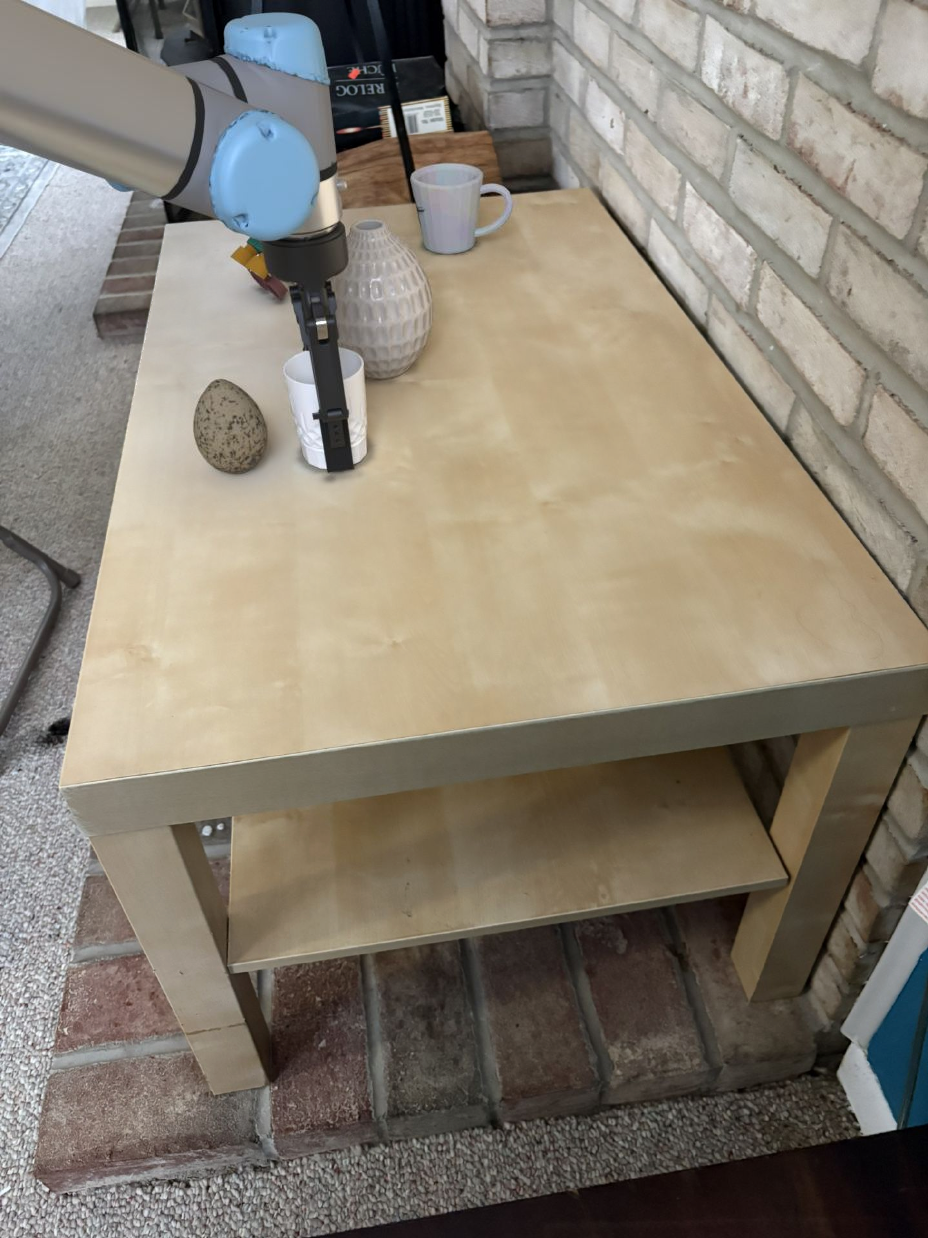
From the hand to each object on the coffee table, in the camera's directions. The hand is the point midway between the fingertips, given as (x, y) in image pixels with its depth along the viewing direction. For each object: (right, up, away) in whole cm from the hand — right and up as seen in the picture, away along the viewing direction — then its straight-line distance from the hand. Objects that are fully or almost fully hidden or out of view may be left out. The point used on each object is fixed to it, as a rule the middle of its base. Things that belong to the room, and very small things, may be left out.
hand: (334, 447), depth 96 cm
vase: (+4, +12, +14) cm, 19 cm away
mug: (+14, +38, +41) cm, 58 cm away
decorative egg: (-10, -3, -1) cm, 10 cm away
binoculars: (-13, +27, +31) cm, 43 cm away
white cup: (0, -1, +1) cm, 1 cm away
